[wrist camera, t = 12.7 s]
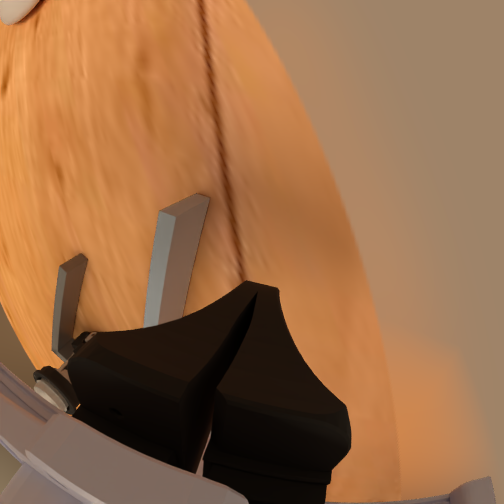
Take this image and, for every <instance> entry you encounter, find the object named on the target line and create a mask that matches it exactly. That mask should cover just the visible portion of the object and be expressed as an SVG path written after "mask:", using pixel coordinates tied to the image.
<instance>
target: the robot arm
mask: <svg viewBox="0 0 504 504" xmlns="http://www.w3.org/2000/svg"><path fill="white" fill-rule="evenodd" d="M279 292H280V291H279V289H278V288H276V287H272V286H268V285H264V284H259V283H255V282H251V281H247V280H246V281H245V282H243V283H242V284H240V285H239V286H238V287H236V288H235V289H233V290H232V291H231V292H229V293H228V294H226V295H225V296H223V297H222V298H220V299H218V300H217V301H215V302H214V303H212V304H210V305H208V306H206V307H204V308H203V309H201V310H199V311H197V312H194V313H192V314H190V315H187V316H185V317H182V318H179V319H176V320H173V321H169V322H166V323H163V324H159V325H155V326H151V327H146V328H140V329H134V330H126V331H113V332H97V333H96V334H95V335H94V336H93V337H92V338H91V339H90V340H88V341H87V342H86V343H85V344H84V345H83V346H82V347H81V349H80V350H79V351H78V352H77V353H76V354H75V355H74V356H73V357H72V358H71V359H70V360H69V361H68V364H67V372H68V376H69V379H70V382H71V384H72V387H73V389H74V391H75V394H76V396H77V398H78V400H79V402H80V406H79V407H78V409H77V410H76V411H75V412H74V414H73V415H72V416H69V415H68V414H66V413H64V412H63V411H61V410H60V409H58V408H57V407H55V406H54V405H53V404H51V403H50V402H48V401H47V400H46V399H44V398H43V397H42V396H40V395H39V394H38V393H36V392H35V391H34V390H32V389H31V388H30V387H29V386H27V385H26V384H25V383H24V382H23V381H21V380H20V379H19V378H18V377H17V376H16V375H14V374H13V373H12V372H11V371H10V370H8V368H6V367H5V366H4V365H3V364H2V363H1V362H0V443H1V444H2V445H3V446H4V447H5V448H6V449H7V450H8V451H9V452H10V453H11V454H12V455H13V456H14V457H15V458H16V459H17V460H18V461H19V462H20V463H21V464H22V466H21V467H20V468H19V470H18V471H17V472H16V474H15V475H14V476H13V478H12V479H11V481H10V482H9V483H8V485H7V486H6V487H5V489H4V490H3V491H2V493H1V494H0V504H496V500H495V495H494V490H493V485H492V480H491V477H490V476H488V477H485V478H481V479H477V480H473V481H469V482H467V483H464V484H462V485H460V486H459V487H457V488H456V489H454V490H453V491H452V492H451V493H450V494H445V495H440V496H434V497H428V498H421V499H414V500H404V501H392V502H374V503H340V502H325V498H326V488H327V485H329V484H330V482H331V473H332V469H333V468H334V467H335V466H336V465H337V464H338V463H339V462H340V461H341V460H342V459H343V458H344V457H345V456H346V455H347V453H348V452H349V450H350V449H351V426H350V421H349V416H348V411H347V407H346V405H345V404H344V403H343V402H341V401H340V400H339V399H338V398H337V397H336V396H335V395H334V394H333V393H332V392H331V391H329V390H328V389H327V388H326V387H325V386H324V385H323V383H322V382H321V381H320V380H319V379H318V378H317V377H316V376H315V374H314V373H313V372H312V370H311V369H310V368H309V366H308V365H307V364H306V362H305V361H304V359H303V357H302V356H301V354H300V353H299V351H298V349H297V347H296V345H295V343H294V341H293V339H292V337H291V335H290V332H289V330H288V327H287V325H286V322H285V319H284V315H283V312H282V308H281V303H280V297H279Z"/></svg>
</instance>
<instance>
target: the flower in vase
mask: <svg viewBox="0 0 504 504" xmlns="http://www.w3.org/2000/svg"><path fill="white" fill-rule="evenodd" d="M39 1H40V0H0V18H1V21H2V22H3V23H5V24H6V25H12V24H14V23H16V22H18V21H20V20H21V19H23V18H24V17H25V16H26V15H27V14H28V13H29V12H30V11H31V10H32V9H33V8H34V7H35V6H36V4H37V3H38V2H39Z"/></svg>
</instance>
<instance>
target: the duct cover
mask: <svg viewBox="0 0 504 504" xmlns="http://www.w3.org/2000/svg"><path fill="white" fill-rule="evenodd" d="M209 200H210V198H209V197H206V196H203V195H200V194H197V193H196V194H194V195H192V196H190V197H187V198H185V199H183V200H181V201H179V202H177V203H175V204H173V205H170V206H168V207H166V208H164V209H162V210H160V211H159V215H158V221H157V227H156V232H155V238H154V245H153V251H152V258H151V265H150V272H149V280H148V288H147V297H146V306H145V317H144V328H146V327H151V326H155V325H159V324H163V323H166V322H169V321H173V320H176V319H179V318H182V316H183V311H184V306H185V301H186V297H187V292H188V287H189V283H190V278H191V274H192V269H193V265H194V261H195V256H196V252H197V248H198V244H199V240H200V236H201V231H202V227H203V223H204V220H205V216H206V212H207V208H208V204H209Z"/></svg>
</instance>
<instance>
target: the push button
mask: <svg viewBox="0 0 504 504" xmlns="http://www.w3.org/2000/svg"><path fill="white" fill-rule="evenodd" d="M96 333H97V332H92V333H91V334H90V335H89V333H88V332H83V333H82V334H81V335H80V336H79V337H78V338H77V339H75V340H74V341H73V342H72V343H71V345H72V347H73V349H74V350H73V352H74V353H73V354H72V356H71V357H70V358H69V359H68V360H67V361H66V362H65V363H64V364H63V365H62V366H61V367H60V368H59V369H56V368H53V367H51V366H45V367H43V368H42V369H41V370H36V371H35V372H34V379H35V381H36V383H37V384H36V385H35V386H34V390H35V392H36V393H38V394H39V395H40V396H42V397H43V398H44V399H46V400H47V401H48V402H50V403H51V404H53V405H54V406H55V407H57V408H58V409H60V410H61V411H63V412H66V413H67V414H70V415H73V414H74V412H75V411H76V407H77V406H78V405H79V404H80V402H79V400H78V398H77V396H76V394H75V391H74V389H73V387H72V384H71V382H70V379H69V376H68V372H67V364H68V361H69V360H70V359H71V358H72V357H73V356H74V355H75V354H76V353H77V352H78V351H79V350H80V349H81V347H82V346H83V345H84V344H85V343H86V342H87V341H88V340H90V339H91V338H92V337H93V334H96Z"/></svg>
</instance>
